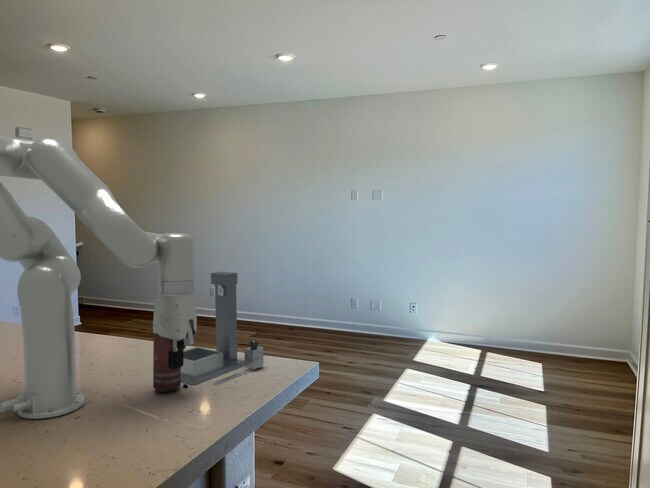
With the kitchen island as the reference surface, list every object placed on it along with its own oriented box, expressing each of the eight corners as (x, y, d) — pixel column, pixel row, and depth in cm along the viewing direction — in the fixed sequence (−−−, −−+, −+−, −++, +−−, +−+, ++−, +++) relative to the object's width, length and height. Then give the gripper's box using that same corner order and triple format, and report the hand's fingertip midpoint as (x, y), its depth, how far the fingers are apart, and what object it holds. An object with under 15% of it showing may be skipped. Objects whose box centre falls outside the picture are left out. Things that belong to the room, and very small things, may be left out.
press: (207, 389, 112) (205, 283, 110) (161, 376, 121) (159, 278, 119) (260, 367, 128) (259, 274, 126) (216, 357, 137) (215, 270, 135)
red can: (163, 394, 106) (164, 332, 106) (148, 387, 110) (148, 328, 110) (186, 387, 111) (187, 328, 110) (170, 381, 115) (171, 323, 114)
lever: (253, 369, 124) (252, 342, 123) (244, 367, 125) (244, 340, 125) (263, 365, 127) (263, 338, 127) (255, 363, 129) (254, 337, 128)
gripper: (141, 286, 109) (140, 364, 110) (185, 292, 101) (184, 378, 102) (168, 282, 115) (167, 357, 116) (211, 289, 107) (210, 369, 108)
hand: (175, 366), depth 109 cm, fingers closed, pressing on red can
